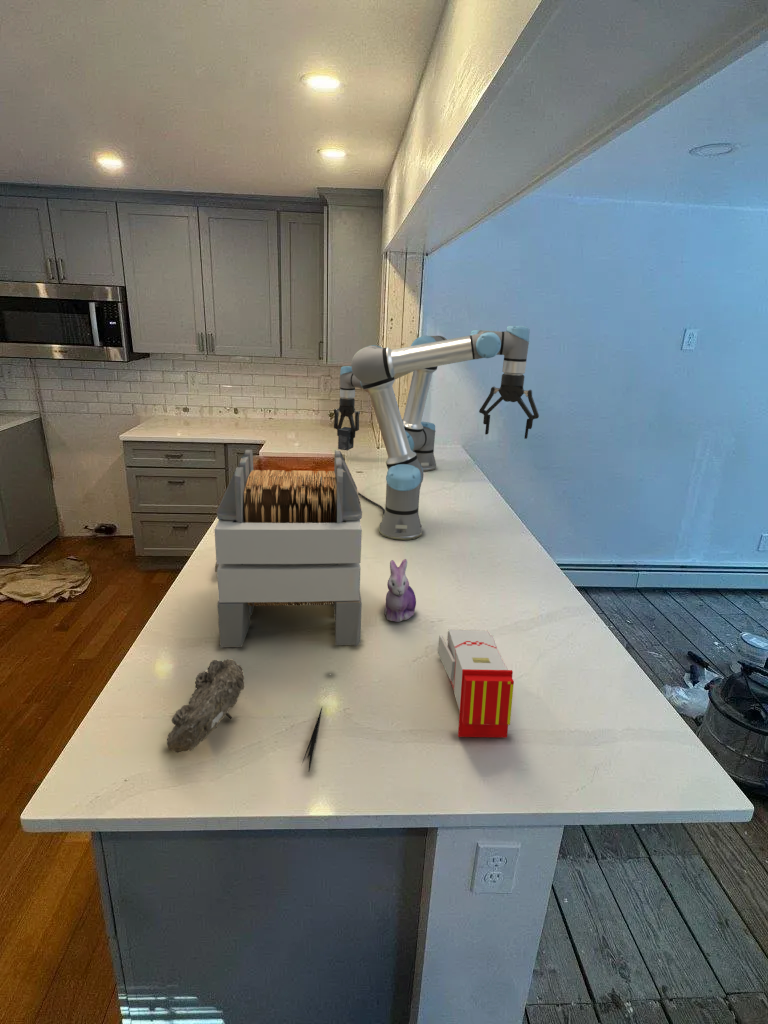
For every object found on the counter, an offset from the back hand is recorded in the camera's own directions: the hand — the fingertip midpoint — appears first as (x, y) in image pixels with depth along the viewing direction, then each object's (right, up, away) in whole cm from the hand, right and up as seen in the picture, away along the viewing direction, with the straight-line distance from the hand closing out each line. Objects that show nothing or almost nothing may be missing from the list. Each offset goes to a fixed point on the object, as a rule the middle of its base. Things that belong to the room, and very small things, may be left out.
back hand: (345, 443), depth 292 cm
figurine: (+24, -62, -144) cm, 159 cm away
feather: (+7, -75, -183) cm, 198 cm away
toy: (+37, -73, -173) cm, 192 cm away
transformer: (-4, -61, -145) cm, 158 cm away
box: (0, -3, +1) cm, 3 cm away
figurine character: (-25, -53, -124) cm, 137 cm away
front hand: (+62, -9, -93) cm, 113 cm away
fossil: (-13, -75, -184) cm, 199 cm away
